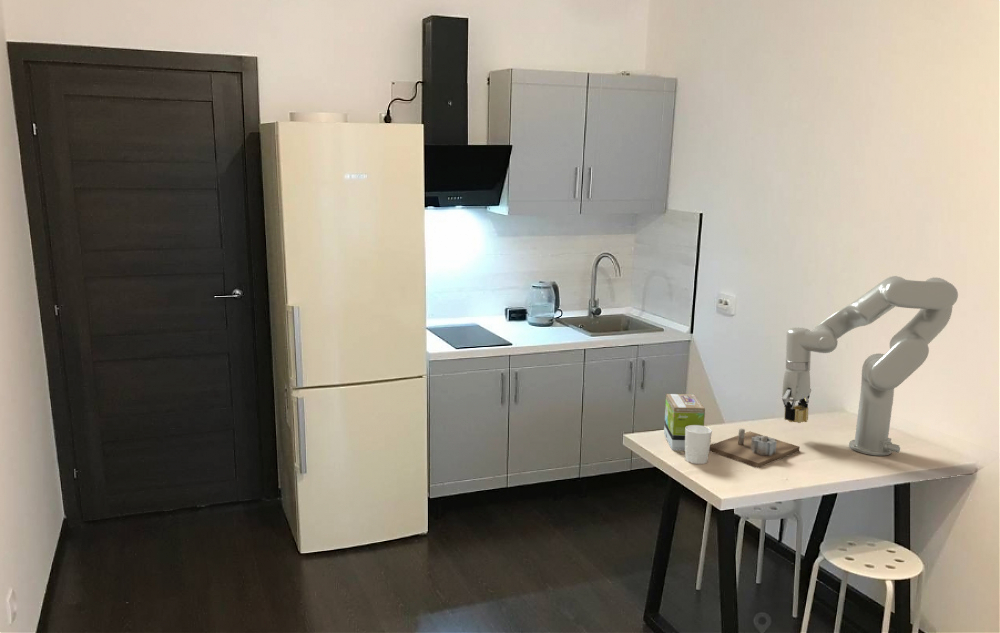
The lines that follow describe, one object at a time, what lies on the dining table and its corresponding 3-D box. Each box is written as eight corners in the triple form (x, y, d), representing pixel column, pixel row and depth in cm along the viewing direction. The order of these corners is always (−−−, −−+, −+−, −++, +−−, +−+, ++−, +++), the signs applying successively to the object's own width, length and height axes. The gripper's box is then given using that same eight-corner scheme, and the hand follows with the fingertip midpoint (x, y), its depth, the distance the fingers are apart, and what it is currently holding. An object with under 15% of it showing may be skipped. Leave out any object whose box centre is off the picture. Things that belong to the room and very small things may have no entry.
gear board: (799, 451, 242) (801, 431, 241) (757, 467, 227) (759, 447, 226) (749, 435, 255) (751, 417, 254) (707, 450, 240) (708, 430, 239)
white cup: (695, 466, 227) (697, 434, 225) (677, 457, 233) (679, 426, 232) (714, 462, 230) (717, 431, 228) (697, 454, 237) (699, 423, 235)
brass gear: (812, 419, 251) (812, 407, 250) (800, 424, 246) (801, 412, 245) (791, 414, 256) (791, 403, 256) (779, 419, 252) (780, 407, 251)
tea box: (662, 434, 254) (665, 392, 251) (692, 435, 254) (695, 393, 251) (671, 450, 239) (674, 406, 236) (703, 452, 239) (706, 407, 236)
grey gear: (777, 450, 238) (778, 438, 237) (773, 457, 231) (774, 445, 230) (752, 445, 241) (754, 433, 240) (748, 452, 235) (749, 440, 234)
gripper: (800, 359, 256) (799, 409, 259) (773, 368, 246) (771, 420, 248) (822, 362, 251) (820, 414, 254) (794, 372, 240) (793, 425, 243)
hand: (796, 416), depth 251 cm, fingers closed on brass gear, 7 cm apart
